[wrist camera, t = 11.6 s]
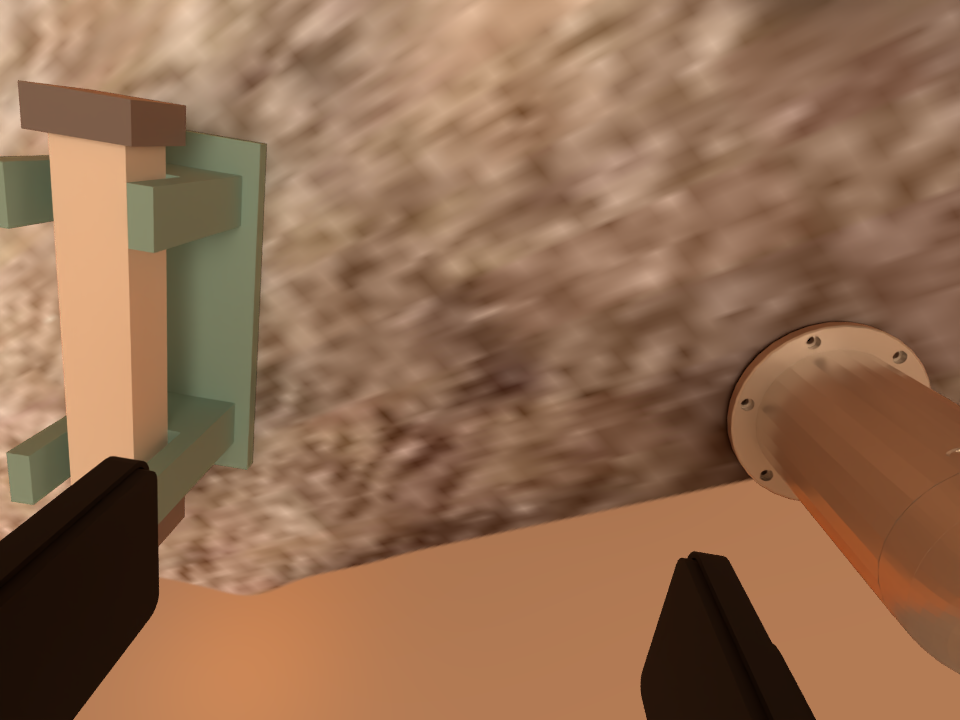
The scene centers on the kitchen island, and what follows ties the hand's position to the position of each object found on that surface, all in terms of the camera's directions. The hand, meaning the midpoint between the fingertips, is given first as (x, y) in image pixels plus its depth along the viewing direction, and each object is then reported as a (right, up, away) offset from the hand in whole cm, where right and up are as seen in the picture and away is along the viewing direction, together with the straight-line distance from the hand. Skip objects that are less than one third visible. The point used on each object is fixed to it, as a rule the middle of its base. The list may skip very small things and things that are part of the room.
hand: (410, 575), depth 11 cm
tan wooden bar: (-18, +6, +25) cm, 32 cm away
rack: (-18, +7, +30) cm, 36 cm away
